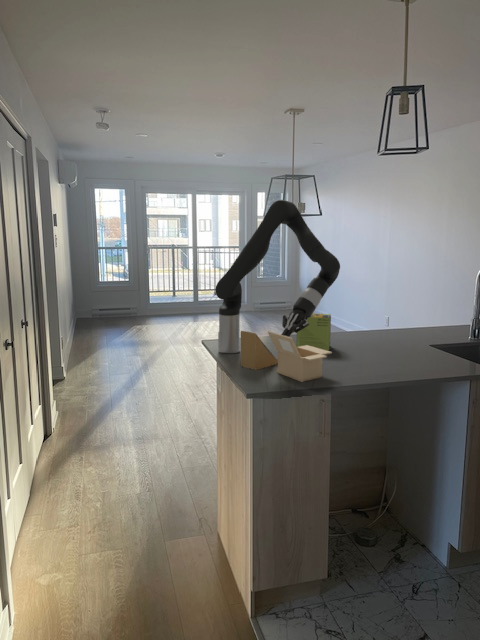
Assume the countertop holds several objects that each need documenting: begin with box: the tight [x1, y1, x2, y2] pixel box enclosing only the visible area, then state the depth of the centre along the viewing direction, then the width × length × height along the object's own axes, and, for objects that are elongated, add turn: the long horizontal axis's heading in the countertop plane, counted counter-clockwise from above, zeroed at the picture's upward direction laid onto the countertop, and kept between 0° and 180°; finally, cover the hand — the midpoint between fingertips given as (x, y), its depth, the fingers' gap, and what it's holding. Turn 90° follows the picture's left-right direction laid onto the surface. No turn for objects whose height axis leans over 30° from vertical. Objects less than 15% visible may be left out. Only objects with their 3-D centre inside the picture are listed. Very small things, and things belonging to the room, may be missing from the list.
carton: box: [274, 345, 333, 383], centre depth 187 cm, size 20×15×9 cm
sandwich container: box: [240, 330, 278, 371], centre depth 200 cm, size 9×15×15 cm, turn 135°
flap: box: [267, 330, 301, 358], centre depth 180 cm, size 14×9×1 cm
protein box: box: [295, 313, 332, 351], centre depth 228 cm, size 10×15×16 cm
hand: (282, 339), depth 179 cm, fingers closed
